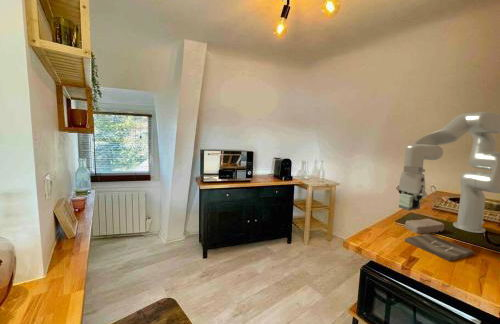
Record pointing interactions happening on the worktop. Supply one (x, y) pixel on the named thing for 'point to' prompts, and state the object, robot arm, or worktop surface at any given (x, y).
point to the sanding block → (407, 201)
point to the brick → (424, 226)
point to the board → (439, 247)
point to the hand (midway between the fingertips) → (409, 205)
